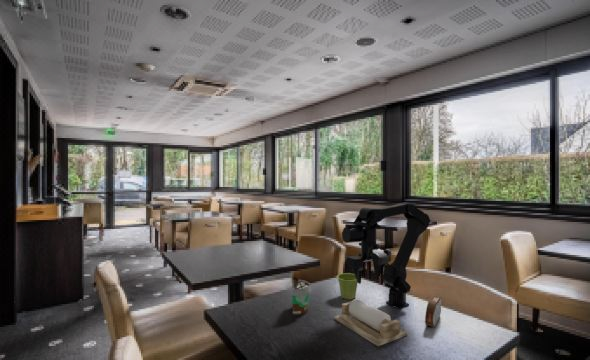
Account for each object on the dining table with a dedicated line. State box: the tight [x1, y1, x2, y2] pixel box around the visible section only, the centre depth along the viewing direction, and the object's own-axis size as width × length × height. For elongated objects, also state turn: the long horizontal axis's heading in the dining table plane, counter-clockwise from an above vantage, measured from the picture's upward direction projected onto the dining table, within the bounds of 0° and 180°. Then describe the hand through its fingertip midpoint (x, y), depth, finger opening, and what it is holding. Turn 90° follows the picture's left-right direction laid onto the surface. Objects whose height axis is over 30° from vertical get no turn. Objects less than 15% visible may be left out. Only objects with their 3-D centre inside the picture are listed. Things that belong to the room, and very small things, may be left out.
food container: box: [291, 279, 312, 317], centre depth 118 cm, size 12×6×10 cm, turn 168°
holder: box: [334, 300, 408, 347], centre depth 106 cm, size 13×21×5 cm, turn 31°
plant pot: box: [336, 272, 359, 300], centre depth 133 cm, size 9×9×9 cm
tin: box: [424, 294, 443, 328], centre depth 110 cm, size 15×3×8 cm, turn 145°
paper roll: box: [349, 298, 392, 332], centre depth 106 cm, size 14×6×6 cm, turn 31°
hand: (368, 281), depth 119 cm, fingers open, 9 cm apart
